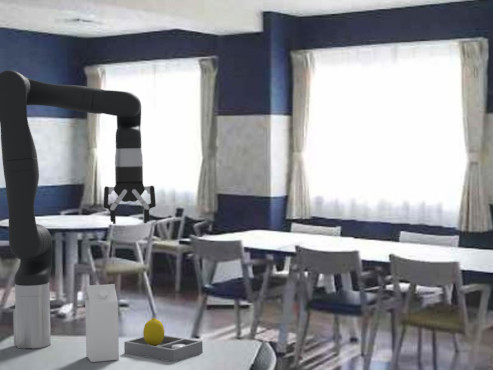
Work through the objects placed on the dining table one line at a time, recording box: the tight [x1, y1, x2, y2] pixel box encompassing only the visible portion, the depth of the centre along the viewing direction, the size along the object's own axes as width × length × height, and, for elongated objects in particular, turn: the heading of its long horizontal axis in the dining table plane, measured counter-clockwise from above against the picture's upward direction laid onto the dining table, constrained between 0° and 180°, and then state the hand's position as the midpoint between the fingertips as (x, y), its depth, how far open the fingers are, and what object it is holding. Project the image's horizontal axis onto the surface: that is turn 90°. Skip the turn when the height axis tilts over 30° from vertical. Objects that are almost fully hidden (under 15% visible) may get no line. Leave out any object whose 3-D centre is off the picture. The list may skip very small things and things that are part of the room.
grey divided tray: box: [123, 334, 204, 363], centre depth 219 cm, size 17×12×3 cm
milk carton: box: [84, 283, 120, 363], centre depth 213 cm, size 7×7×19 cm
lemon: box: [142, 317, 165, 346], centre depth 220 cm, size 6×6×8 cm
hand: (129, 223), depth 231 cm, fingers open, 8 cm apart
